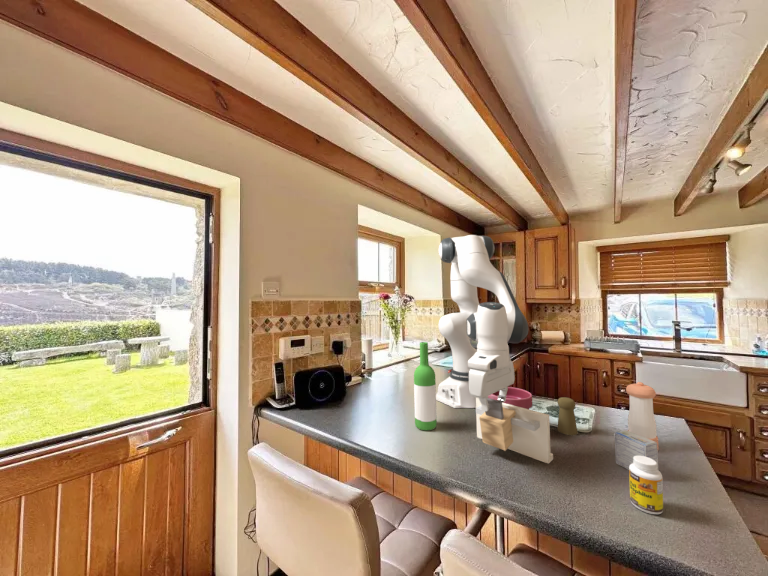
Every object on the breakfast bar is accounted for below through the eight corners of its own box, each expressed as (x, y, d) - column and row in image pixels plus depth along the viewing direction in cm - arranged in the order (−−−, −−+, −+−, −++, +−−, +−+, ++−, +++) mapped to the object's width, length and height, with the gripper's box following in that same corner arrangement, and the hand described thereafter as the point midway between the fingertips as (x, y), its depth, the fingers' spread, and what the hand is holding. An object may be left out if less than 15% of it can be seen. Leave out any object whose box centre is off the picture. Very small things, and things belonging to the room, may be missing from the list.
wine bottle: (423, 420, 115) (421, 340, 115) (441, 426, 109) (439, 342, 110) (410, 427, 109) (408, 343, 110) (427, 433, 104) (425, 345, 104)
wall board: (471, 440, 98) (469, 400, 98) (482, 433, 103) (481, 395, 103) (543, 469, 82) (541, 420, 82) (553, 459, 87) (551, 412, 87)
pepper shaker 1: (580, 435, 100) (579, 402, 100) (560, 434, 101) (559, 401, 101) (573, 427, 106) (572, 395, 106) (554, 426, 107) (553, 395, 107)
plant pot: (517, 419, 114) (516, 384, 114) (542, 436, 100) (541, 397, 100) (481, 422, 112) (480, 387, 112) (502, 441, 98) (501, 400, 98)
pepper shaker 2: (665, 450, 90) (662, 385, 90) (644, 453, 89) (642, 386, 89) (640, 438, 97) (638, 378, 97) (621, 441, 96) (618, 379, 96)
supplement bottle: (624, 502, 68) (623, 456, 69) (638, 495, 71) (637, 451, 71) (654, 519, 63) (653, 469, 63) (669, 511, 66) (667, 463, 66)
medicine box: (659, 476, 78) (658, 442, 78) (647, 480, 76) (645, 445, 76) (627, 460, 85) (625, 429, 85) (615, 463, 84) (613, 431, 84)
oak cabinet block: (482, 442, 91) (477, 401, 89) (496, 428, 96) (491, 389, 95) (505, 450, 86) (500, 407, 84) (518, 435, 91) (513, 394, 90)
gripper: (499, 351, 99) (501, 394, 98) (464, 362, 85) (465, 412, 85) (519, 354, 94) (520, 399, 94) (484, 366, 80) (486, 419, 80)
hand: (494, 405), depth 89 cm, fingers open, 8 cm apart
